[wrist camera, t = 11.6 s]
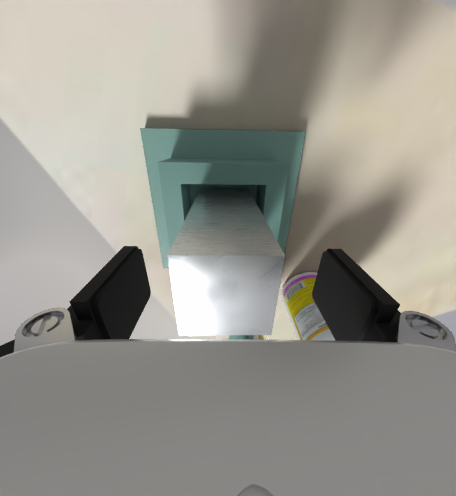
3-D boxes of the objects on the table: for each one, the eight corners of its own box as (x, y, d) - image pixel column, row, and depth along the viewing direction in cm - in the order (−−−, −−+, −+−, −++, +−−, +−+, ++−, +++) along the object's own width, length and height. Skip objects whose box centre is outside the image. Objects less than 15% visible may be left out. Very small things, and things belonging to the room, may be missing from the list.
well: (301, 132, 18) (327, 128, 14) (280, 263, 24) (292, 290, 20) (144, 128, 18) (118, 124, 13) (165, 263, 24) (152, 290, 20)
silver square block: (247, 187, 19) (285, 255, 8) (245, 230, 21) (271, 334, 10) (200, 187, 19) (167, 255, 8) (202, 230, 21) (178, 335, 10)
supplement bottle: (326, 306, 28) (396, 417, 17) (279, 310, 28) (317, 423, 17) (333, 266, 25) (425, 370, 14) (280, 271, 25) (328, 378, 14)
